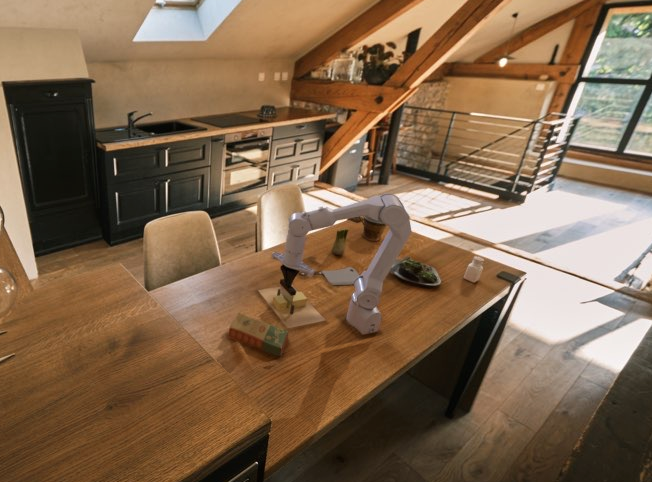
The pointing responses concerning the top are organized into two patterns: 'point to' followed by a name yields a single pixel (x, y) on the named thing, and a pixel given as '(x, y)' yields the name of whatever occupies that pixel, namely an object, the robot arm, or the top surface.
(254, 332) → the carton
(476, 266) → the pepper shaker
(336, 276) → the kitchen cleaver
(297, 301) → the butter block
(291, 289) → the dough scraper
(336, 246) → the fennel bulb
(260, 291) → the board
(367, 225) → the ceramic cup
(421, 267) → the salad plate
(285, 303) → the butter slice
